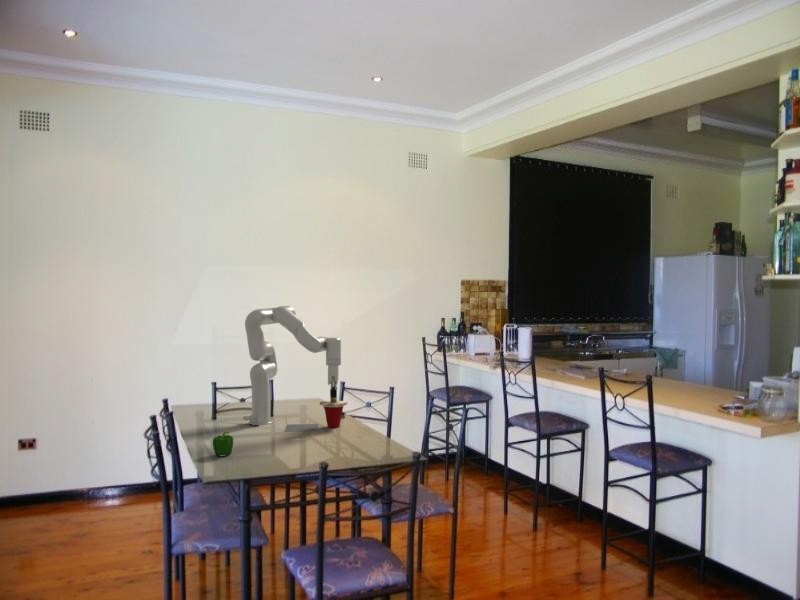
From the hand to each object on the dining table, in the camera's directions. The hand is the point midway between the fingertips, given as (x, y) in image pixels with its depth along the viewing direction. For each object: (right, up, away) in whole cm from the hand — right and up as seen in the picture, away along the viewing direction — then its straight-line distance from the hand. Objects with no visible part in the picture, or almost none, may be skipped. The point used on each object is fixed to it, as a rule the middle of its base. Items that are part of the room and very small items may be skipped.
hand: (333, 395), depth 306 cm
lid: (0, -4, 0) cm, 4 cm away
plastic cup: (0, -16, 0) cm, 16 cm away
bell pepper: (-41, -18, -50) cm, 67 cm away
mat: (-16, -16, -2) cm, 23 cm away
